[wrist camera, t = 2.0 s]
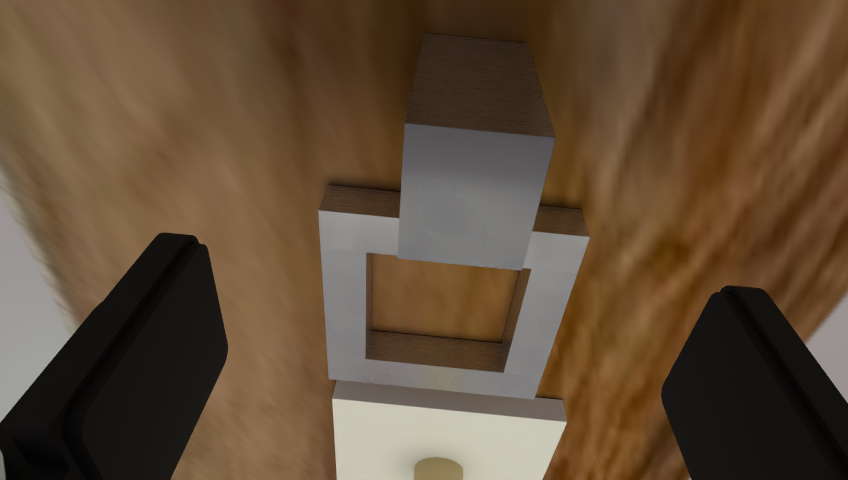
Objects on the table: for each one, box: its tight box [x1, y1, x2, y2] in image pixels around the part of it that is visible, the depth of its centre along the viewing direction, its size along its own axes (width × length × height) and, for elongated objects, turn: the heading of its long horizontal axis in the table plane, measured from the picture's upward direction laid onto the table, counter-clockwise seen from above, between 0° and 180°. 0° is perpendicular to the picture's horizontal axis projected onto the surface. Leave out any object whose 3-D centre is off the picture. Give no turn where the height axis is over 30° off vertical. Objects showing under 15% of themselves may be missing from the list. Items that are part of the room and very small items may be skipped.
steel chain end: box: [318, 33, 590, 400], centre depth 17 cm, size 14×9×6 cm, turn 176°
